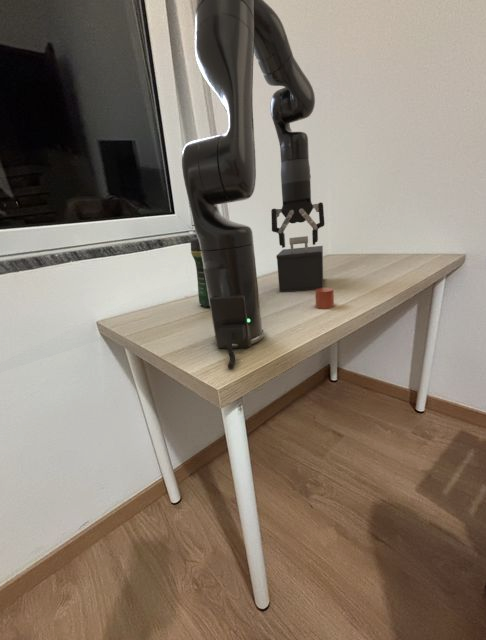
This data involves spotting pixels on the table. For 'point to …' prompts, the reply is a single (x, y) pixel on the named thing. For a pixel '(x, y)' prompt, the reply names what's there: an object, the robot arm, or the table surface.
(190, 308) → the table surface
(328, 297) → the red cylinder
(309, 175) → the robot arm
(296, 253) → the lid
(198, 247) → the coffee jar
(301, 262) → the black open box
